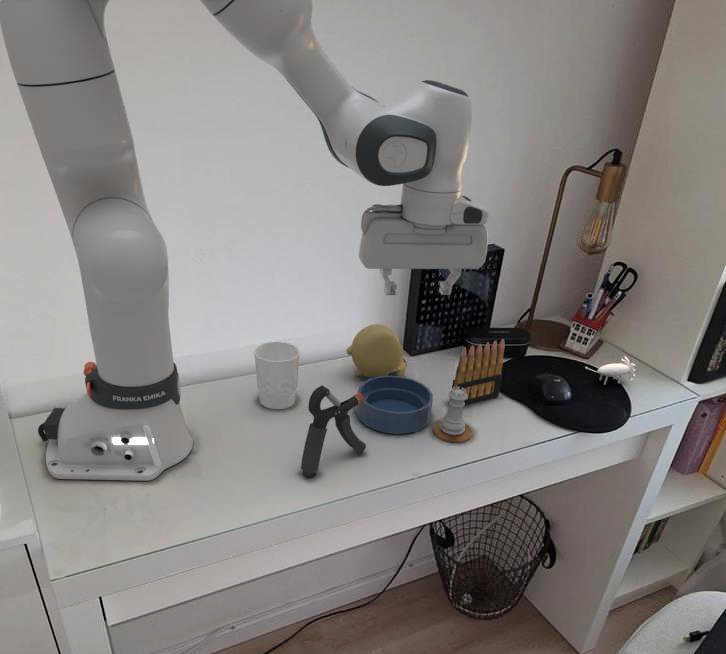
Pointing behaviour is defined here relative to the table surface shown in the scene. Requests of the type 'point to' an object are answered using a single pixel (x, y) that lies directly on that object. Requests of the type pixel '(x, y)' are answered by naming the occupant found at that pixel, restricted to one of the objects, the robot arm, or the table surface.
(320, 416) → the hand grip strengthener
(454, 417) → the rook chess piece
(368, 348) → the khaki rounded piece
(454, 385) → the ammunition clip
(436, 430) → the coaster
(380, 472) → the table surface
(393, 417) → the bowl
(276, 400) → the white cup
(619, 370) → the white animal figurine
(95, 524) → the table surface
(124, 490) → the table surface
